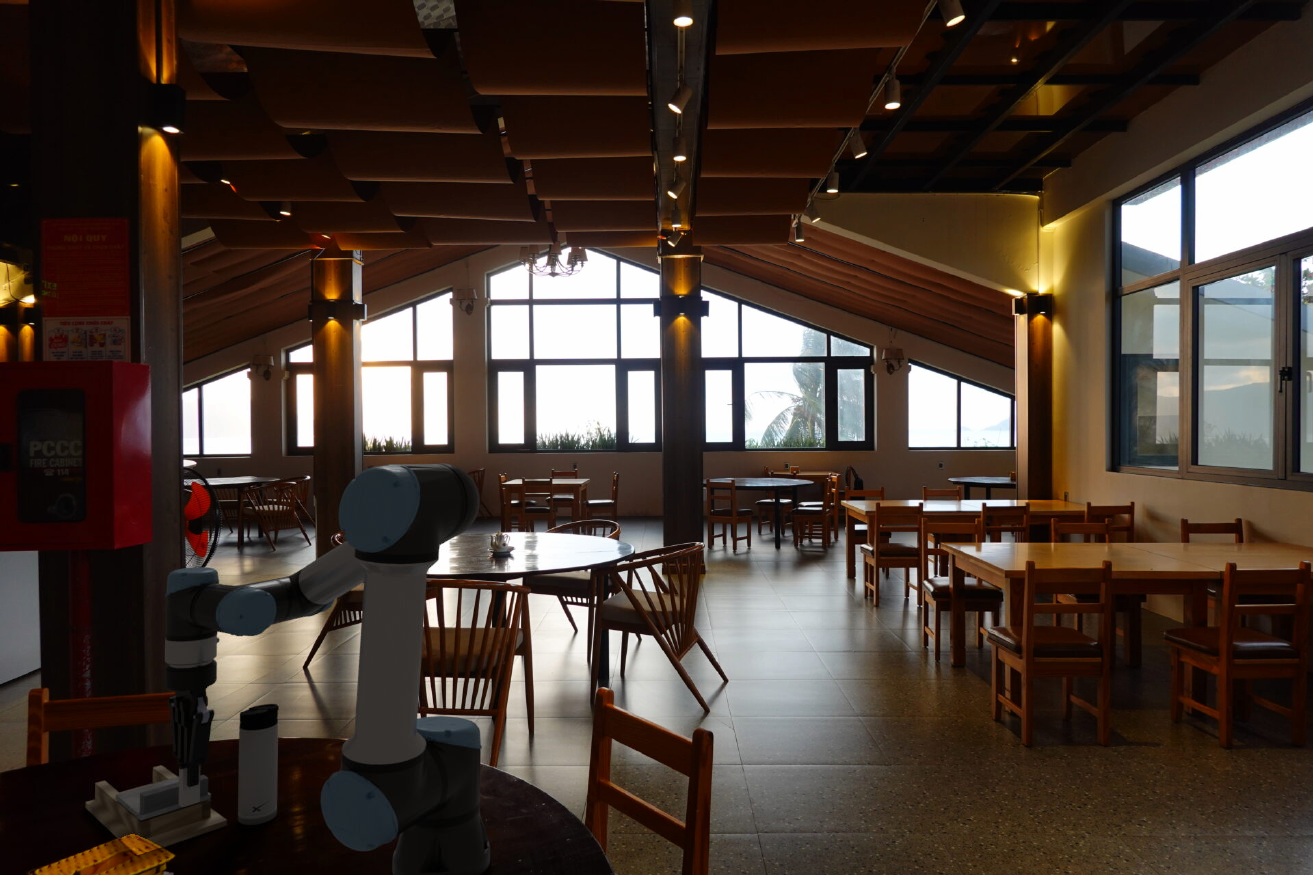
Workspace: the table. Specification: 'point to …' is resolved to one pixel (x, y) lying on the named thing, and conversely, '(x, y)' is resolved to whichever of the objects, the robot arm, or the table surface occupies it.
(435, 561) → the robot arm
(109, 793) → the holder
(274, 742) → the travel mug
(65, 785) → the table surface
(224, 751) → the table surface
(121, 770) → the table surface
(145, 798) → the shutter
